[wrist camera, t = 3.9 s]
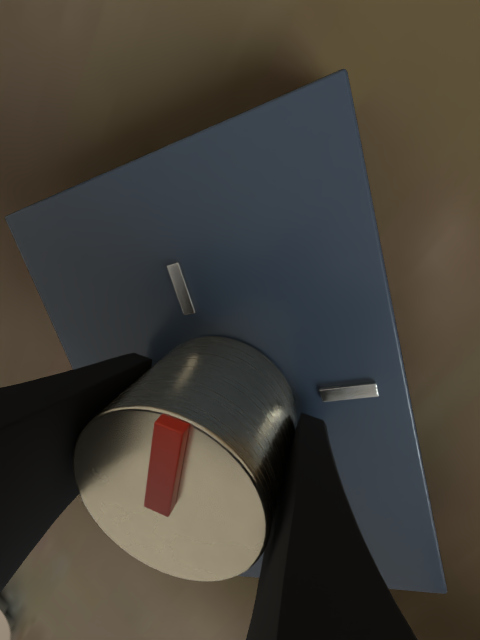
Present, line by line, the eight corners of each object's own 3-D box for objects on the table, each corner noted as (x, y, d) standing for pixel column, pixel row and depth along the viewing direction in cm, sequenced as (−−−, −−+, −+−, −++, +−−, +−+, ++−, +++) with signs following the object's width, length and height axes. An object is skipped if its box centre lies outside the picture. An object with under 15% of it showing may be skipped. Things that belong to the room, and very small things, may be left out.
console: (431, 523, 13) (449, 601, 10) (189, 517, 16) (160, 574, 14) (348, 96, 9) (346, 63, 7) (64, 211, 13) (-3, 217, 10)
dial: (276, 487, 11) (239, 629, 7) (149, 436, 12) (60, 541, 8) (317, 365, 9) (294, 474, 6) (164, 315, 10) (60, 383, 6)
